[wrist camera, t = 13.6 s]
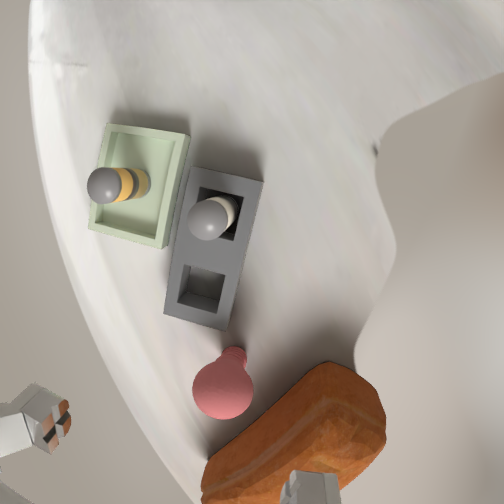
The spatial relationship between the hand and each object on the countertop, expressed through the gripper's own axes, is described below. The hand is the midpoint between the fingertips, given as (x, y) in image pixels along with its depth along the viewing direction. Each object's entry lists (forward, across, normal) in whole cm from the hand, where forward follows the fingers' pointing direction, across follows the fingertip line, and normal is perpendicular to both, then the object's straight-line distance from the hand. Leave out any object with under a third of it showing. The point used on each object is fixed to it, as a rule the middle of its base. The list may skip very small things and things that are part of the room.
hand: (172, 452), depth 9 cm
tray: (+31, +16, -5) cm, 35 cm away
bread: (+32, -13, +29) cm, 45 cm away
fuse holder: (+31, +4, 0) cm, 31 cm away
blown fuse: (+30, +16, -5) cm, 35 cm away
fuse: (+31, +4, -4) cm, 32 cm away
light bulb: (+31, -1, +15) cm, 35 cm away
